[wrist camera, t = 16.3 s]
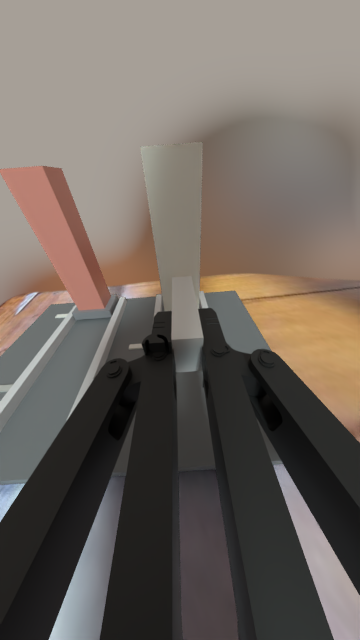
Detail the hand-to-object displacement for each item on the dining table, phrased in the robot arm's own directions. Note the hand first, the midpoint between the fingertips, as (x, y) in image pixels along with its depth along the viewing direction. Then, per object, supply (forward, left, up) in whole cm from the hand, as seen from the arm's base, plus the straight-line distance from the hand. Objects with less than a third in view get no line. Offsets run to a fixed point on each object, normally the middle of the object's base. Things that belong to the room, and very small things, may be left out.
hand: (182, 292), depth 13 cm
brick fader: (+12, -8, -7) cm, 16 cm away
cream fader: (0, -3, -7) cm, 7 cm away
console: (+6, -1, -9) cm, 11 cm away
